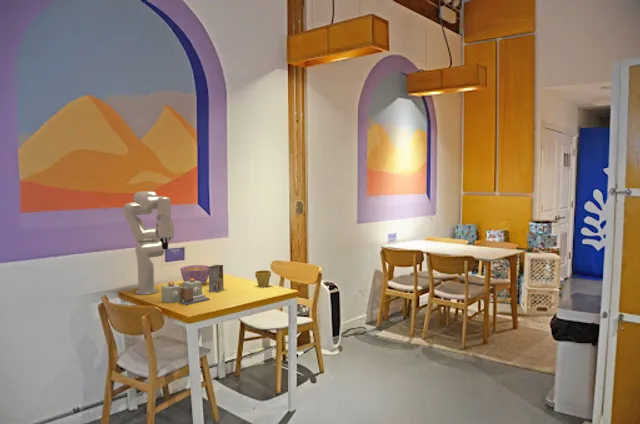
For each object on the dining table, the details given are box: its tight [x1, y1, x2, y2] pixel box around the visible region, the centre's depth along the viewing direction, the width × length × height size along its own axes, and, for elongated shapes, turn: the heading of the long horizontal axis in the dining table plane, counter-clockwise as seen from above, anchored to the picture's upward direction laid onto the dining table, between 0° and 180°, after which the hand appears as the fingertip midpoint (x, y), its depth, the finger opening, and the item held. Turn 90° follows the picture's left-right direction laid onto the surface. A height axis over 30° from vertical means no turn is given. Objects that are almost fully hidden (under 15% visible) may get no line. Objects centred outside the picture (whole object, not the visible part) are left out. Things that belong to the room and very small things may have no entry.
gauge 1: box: [167, 282, 175, 287], centre depth 310 cm, size 3×3×7 cm
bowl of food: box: [179, 264, 210, 285], centre depth 354 cm, size 20×20×12 cm
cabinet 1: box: [160, 284, 182, 304], centre depth 310 cm, size 8×8×9 cm
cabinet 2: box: [182, 281, 203, 297], centre depth 321 cm, size 8×8×9 cm
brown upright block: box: [180, 286, 193, 302], centre depth 305 cm, size 6×5×8 cm
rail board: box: [177, 294, 211, 306], centre depth 309 cm, size 9×16×2 cm, turn 139°
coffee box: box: [208, 264, 224, 293], centre depth 336 cm, size 9×6×16 cm
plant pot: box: [254, 269, 272, 288], centre depth 348 cm, size 10×10×10 cm
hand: (165, 249), depth 307 cm, fingers closed
